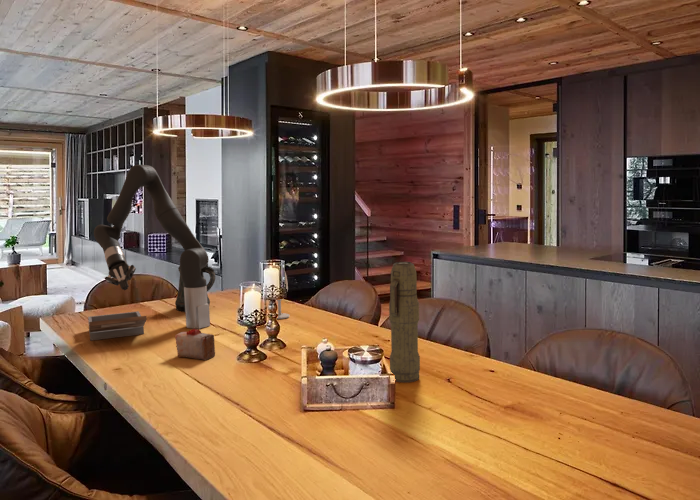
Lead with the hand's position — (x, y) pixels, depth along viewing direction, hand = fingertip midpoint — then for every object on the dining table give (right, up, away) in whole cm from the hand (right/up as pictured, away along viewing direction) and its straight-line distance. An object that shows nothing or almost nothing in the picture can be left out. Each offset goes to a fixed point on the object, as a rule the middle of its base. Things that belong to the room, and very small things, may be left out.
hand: (125, 288), depth 235 cm
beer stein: (+15, -13, +50) cm, 54 cm away
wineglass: (+59, -15, +26) cm, 66 cm away
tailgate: (-2, -16, -3) cm, 17 cm away
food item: (+37, -22, -32) cm, 53 cm away
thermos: (+107, -23, -59) cm, 125 cm away
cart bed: (-6, -18, +6) cm, 20 cm away
